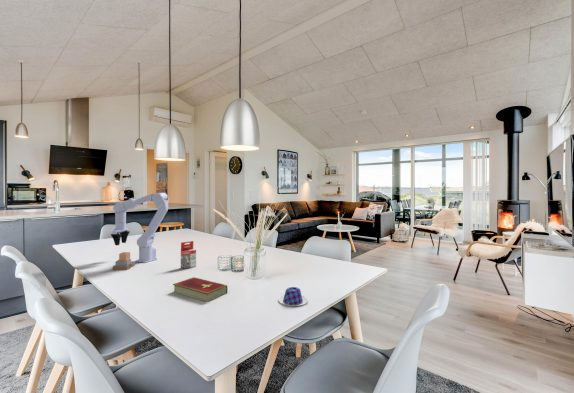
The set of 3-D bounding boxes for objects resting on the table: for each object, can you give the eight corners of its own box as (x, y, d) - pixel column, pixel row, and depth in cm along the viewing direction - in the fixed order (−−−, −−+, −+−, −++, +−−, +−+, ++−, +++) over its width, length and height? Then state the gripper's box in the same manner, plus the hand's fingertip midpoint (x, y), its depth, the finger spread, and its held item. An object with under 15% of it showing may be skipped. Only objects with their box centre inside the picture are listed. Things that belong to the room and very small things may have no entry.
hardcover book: (194, 285, 135) (194, 276, 135) (227, 293, 124) (227, 284, 124) (172, 292, 125) (172, 283, 124) (207, 303, 114) (207, 292, 114)
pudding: (292, 293, 125) (292, 282, 124) (313, 301, 116) (313, 289, 116) (272, 301, 116) (272, 288, 116) (293, 310, 108) (293, 297, 107)
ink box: (196, 266, 165) (196, 241, 164) (183, 269, 159) (183, 243, 159) (193, 265, 167) (193, 240, 167) (180, 267, 162) (180, 242, 161)
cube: (123, 259, 163) (123, 252, 163) (130, 259, 163) (130, 252, 163) (119, 260, 159) (119, 253, 159) (126, 260, 159) (126, 253, 159)
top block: (119, 263, 163) (119, 259, 163) (131, 263, 164) (131, 258, 164) (115, 266, 157) (115, 261, 157) (127, 265, 158) (127, 261, 158)
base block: (120, 266, 165) (120, 262, 164) (134, 266, 165) (134, 262, 165) (112, 270, 157) (112, 266, 156) (127, 270, 157) (127, 266, 157)
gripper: (120, 220, 182) (120, 241, 183) (107, 223, 168) (107, 246, 168) (131, 220, 183) (131, 241, 183) (119, 223, 168) (119, 246, 169)
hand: (120, 244), depth 176 cm, fingers open, 7 cm apart
